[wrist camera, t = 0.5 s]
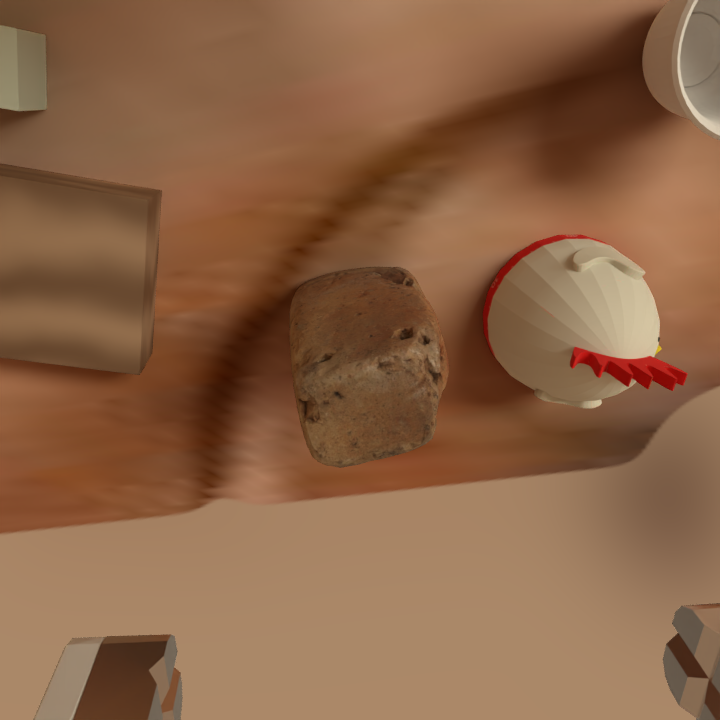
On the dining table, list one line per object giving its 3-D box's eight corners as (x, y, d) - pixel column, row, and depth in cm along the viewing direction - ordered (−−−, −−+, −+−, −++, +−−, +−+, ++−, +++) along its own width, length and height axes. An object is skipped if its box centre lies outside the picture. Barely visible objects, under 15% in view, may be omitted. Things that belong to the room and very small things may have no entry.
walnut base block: (-27, 158, 48) (-62, 165, 43) (162, 189, 50) (148, 200, 45) (-17, 328, 53) (-48, 351, 48) (153, 351, 55) (139, 375, 50)
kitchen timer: (606, 388, 60) (697, 477, 46) (467, 373, 58) (518, 460, 44) (654, 245, 54) (773, 297, 41) (503, 223, 53) (574, 269, 39)
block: (308, 357, 56) (309, 486, 37) (285, 278, 53) (275, 376, 34) (426, 329, 56) (485, 445, 37) (410, 248, 53) (467, 331, 34)
